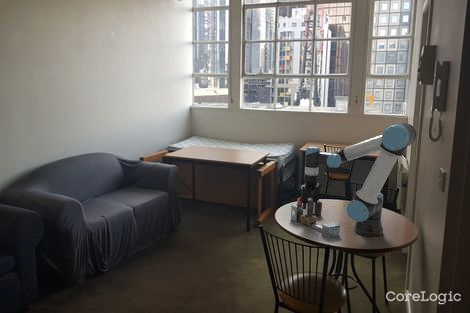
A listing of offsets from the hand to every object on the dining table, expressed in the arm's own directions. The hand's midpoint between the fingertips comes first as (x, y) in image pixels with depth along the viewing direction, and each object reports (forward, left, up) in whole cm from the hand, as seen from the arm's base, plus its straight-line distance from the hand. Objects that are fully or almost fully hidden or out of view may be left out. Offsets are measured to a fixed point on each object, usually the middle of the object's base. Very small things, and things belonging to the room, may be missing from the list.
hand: (308, 213), depth 233 cm
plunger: (+9, 0, +2) cm, 9 cm away
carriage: (0, 0, -7) cm, 7 cm away
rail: (-5, 0, -7) cm, 8 cm away
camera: (+15, -16, -7) cm, 23 cm away
